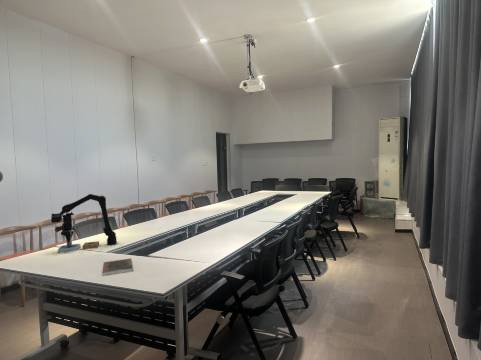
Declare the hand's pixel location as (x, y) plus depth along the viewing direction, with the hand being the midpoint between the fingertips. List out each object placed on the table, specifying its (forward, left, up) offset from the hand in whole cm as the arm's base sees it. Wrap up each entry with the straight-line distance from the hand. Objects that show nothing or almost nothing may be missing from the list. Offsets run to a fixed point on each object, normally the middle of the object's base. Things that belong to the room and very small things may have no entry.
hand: (69, 241), depth 238 cm
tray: (0, 0, -6) cm, 7 cm away
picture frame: (-39, +61, -7) cm, 73 cm away
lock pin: (0, 0, -4) cm, 4 cm away
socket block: (-15, 0, -6) cm, 16 cm away
